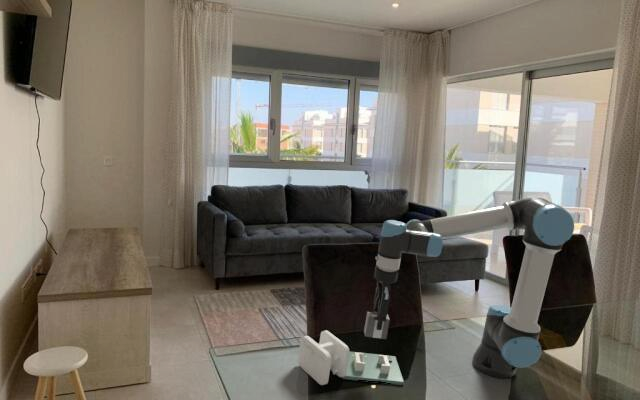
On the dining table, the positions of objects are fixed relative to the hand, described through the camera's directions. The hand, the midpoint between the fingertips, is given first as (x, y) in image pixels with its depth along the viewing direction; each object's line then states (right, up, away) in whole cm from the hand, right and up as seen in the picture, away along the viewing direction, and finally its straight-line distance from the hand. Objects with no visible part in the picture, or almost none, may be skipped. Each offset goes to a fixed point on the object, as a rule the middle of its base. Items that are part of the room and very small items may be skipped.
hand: (375, 333), depth 164 cm
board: (-2, -13, +4) cm, 13 cm away
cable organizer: (-18, -12, -2) cm, 22 cm away
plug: (0, 0, 0) cm, 1 cm away
